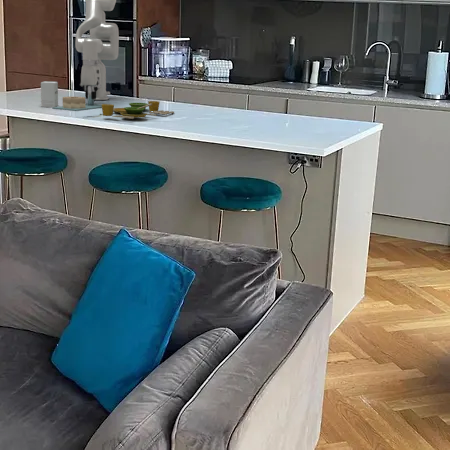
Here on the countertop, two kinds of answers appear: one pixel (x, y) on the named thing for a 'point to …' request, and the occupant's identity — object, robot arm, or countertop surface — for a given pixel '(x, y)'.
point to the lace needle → (90, 101)
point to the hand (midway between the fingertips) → (90, 98)
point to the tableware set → (134, 110)
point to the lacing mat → (81, 108)
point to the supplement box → (49, 94)
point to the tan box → (74, 102)
